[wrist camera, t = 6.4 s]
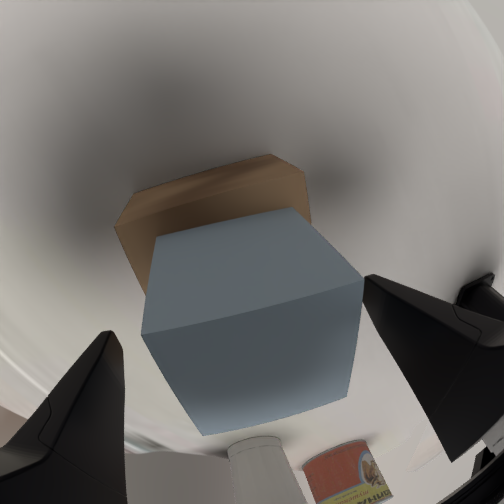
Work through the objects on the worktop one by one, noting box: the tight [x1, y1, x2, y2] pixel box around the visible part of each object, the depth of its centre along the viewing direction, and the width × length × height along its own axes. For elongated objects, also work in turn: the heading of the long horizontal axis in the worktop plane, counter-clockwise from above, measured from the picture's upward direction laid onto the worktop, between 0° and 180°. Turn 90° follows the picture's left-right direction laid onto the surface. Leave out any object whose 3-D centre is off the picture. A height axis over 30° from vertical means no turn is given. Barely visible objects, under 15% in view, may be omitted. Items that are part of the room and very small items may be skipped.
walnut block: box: [114, 154, 311, 295], centre depth 13 cm, size 7×7×4 cm
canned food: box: [302, 440, 393, 504], centre depth 32 cm, size 11×11×12 cm
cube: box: [141, 207, 365, 436], centre depth 9 cm, size 5×5×5 cm
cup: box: [227, 436, 308, 504], centre depth 23 cm, size 8×8×12 cm
